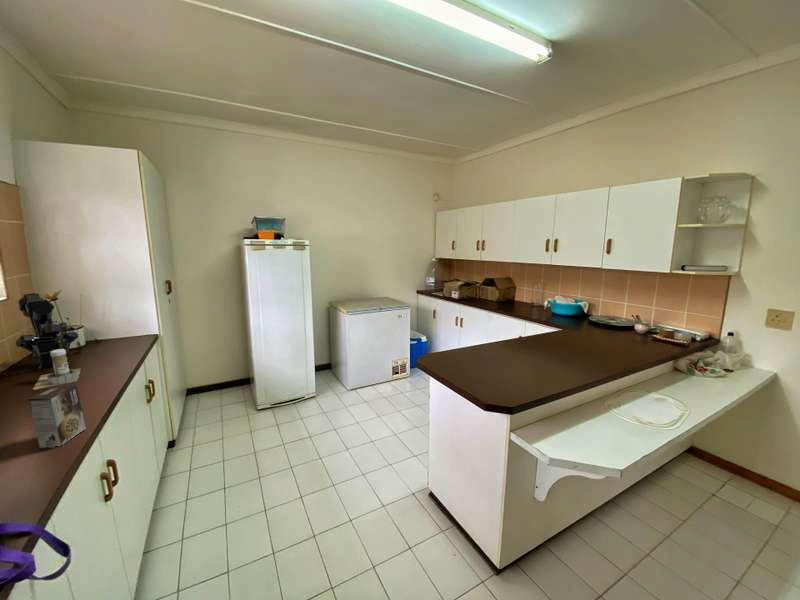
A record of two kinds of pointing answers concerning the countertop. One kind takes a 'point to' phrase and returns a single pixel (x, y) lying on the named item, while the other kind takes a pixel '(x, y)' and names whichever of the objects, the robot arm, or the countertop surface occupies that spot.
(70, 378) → the steel collar
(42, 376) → the birch board
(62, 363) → the sprinkles bottle
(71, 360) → the countertop surface
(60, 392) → the coffee box
